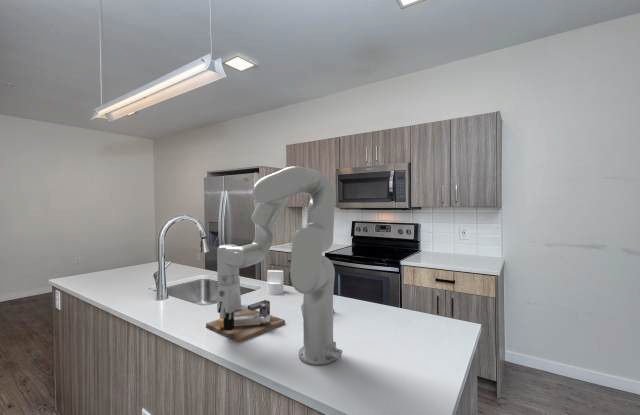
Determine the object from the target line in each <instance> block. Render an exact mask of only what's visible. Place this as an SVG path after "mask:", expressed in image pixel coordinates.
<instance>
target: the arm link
mask: <svg viewBox="0 0 640 415" xmlns="http://www.w3.org/2000/svg"><path fill="white" fill-rule="evenodd" d="M260 307H261V308H262V315H255V316H241V317H233V318H234V326H245V325H258V324H261V325H266V324H269V323H270V315H271V314H270V315H269V314H267V307H269V304H268V303H263V304H261V305H260ZM218 319H219V328H222V327H224V319H223V318H220V317H219V318H218Z"/></svg>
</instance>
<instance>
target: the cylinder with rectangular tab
mask: <svg viewBox="0 0 640 415" xmlns="http://www.w3.org/2000/svg"><path fill="white" fill-rule="evenodd" d="M284 284H285V282H284V270H277V269H274V270H273V269H268V270H267V271H266V294H267V293H268V294H267V295H269V294H270V296H279V295H283V294H284V291H285V288H284V287H285V286H284Z"/></svg>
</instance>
